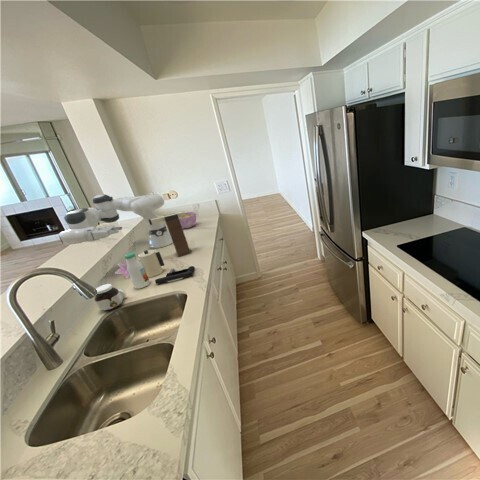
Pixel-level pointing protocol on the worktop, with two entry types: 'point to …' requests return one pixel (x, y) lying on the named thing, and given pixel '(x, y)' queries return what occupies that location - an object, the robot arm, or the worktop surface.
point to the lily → (123, 269)
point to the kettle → (151, 262)
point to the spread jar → (109, 297)
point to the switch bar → (161, 219)
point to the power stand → (177, 235)
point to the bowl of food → (188, 220)
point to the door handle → (176, 275)
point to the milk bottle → (136, 272)
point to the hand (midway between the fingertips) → (120, 229)
